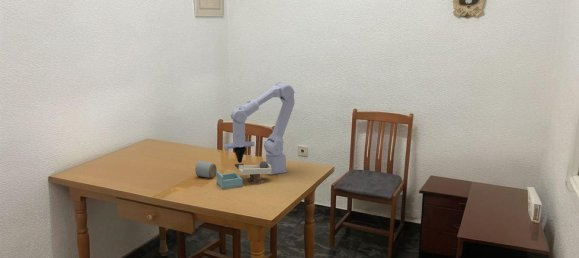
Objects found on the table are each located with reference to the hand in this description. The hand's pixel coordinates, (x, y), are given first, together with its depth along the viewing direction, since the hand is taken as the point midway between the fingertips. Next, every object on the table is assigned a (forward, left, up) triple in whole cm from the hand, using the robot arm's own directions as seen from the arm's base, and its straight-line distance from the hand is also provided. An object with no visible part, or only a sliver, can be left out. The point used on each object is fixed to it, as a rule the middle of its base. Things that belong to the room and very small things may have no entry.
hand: (239, 162), depth 237 cm
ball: (-9, +8, 0) cm, 12 cm away
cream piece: (-4, +5, -3) cm, 7 cm away
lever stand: (-5, +8, -7) cm, 12 cm away
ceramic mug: (+14, -8, -8) cm, 18 cm away
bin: (+8, +8, -7) cm, 14 cm away
